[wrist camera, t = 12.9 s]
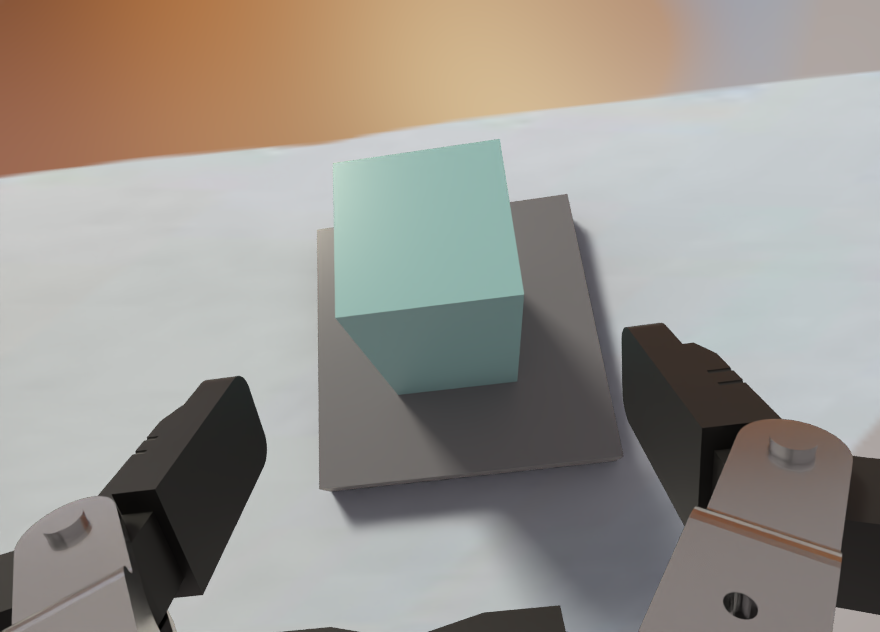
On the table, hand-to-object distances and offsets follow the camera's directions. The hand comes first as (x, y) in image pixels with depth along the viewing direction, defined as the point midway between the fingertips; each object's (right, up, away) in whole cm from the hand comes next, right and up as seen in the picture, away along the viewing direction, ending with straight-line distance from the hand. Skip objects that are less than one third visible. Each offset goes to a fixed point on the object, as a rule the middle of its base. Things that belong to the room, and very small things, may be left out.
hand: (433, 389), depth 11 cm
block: (+1, +1, +12) cm, 12 cm away
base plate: (+1, 0, +13) cm, 13 cm away
